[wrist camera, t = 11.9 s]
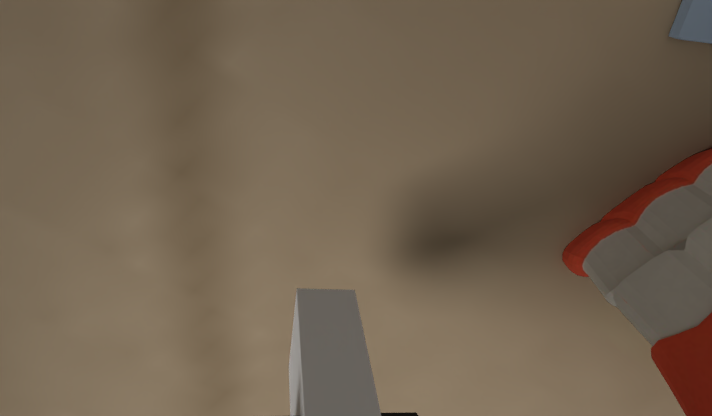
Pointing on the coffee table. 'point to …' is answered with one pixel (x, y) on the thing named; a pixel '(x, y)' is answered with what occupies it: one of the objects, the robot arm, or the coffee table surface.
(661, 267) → the toy
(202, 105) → the coffee table surface
